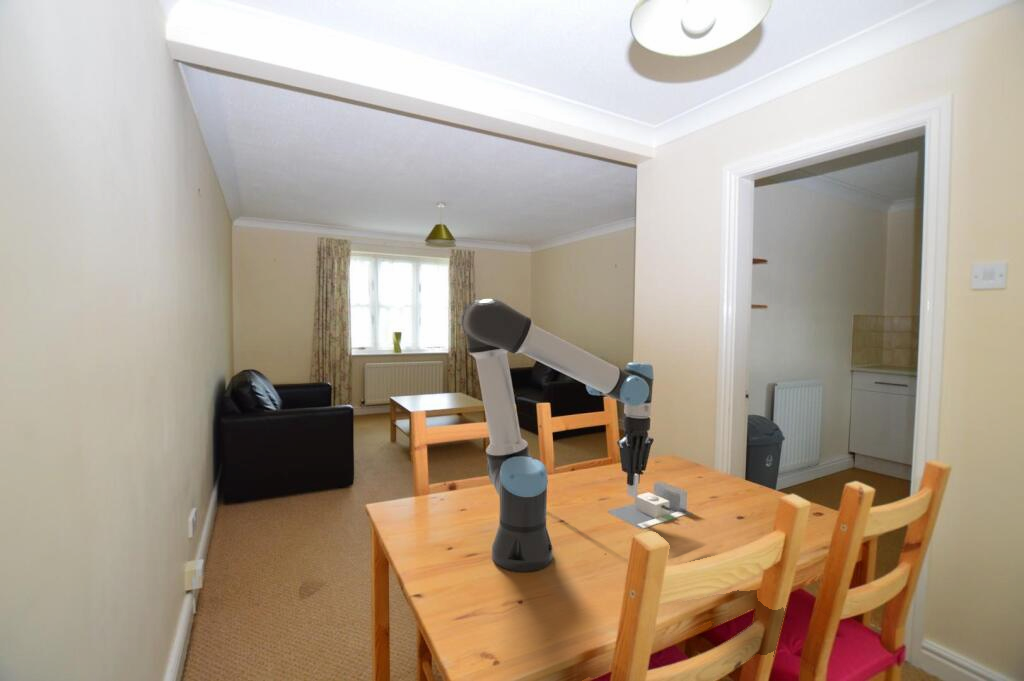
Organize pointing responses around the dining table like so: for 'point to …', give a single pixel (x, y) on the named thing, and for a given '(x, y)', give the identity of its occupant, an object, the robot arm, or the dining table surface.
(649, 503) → the gauge carriage
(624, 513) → the gauge board
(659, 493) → the upright metal panel
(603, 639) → the dining table surface
